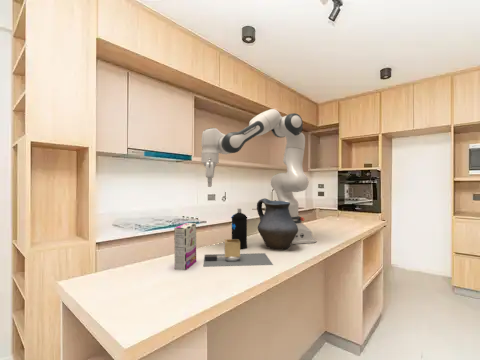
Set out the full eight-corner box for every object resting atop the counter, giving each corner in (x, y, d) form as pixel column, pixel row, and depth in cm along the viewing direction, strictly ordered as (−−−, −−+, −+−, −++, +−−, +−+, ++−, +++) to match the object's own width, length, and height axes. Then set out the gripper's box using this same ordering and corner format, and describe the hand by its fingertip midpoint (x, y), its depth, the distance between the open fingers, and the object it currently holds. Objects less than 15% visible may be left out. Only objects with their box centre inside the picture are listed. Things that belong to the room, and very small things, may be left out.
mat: (264, 254, 122) (265, 253, 122) (273, 265, 105) (273, 264, 105) (204, 255, 119) (204, 254, 119) (203, 267, 102) (203, 266, 102)
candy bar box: (185, 261, 110) (185, 222, 110) (196, 262, 109) (196, 223, 109) (173, 270, 99) (173, 227, 99) (185, 271, 98) (186, 227, 98)
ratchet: (239, 256, 116) (239, 245, 116) (241, 261, 109) (241, 249, 109) (205, 257, 114) (205, 245, 114) (204, 262, 107) (204, 250, 107)
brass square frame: (238, 252, 115) (238, 239, 115) (240, 256, 109) (240, 242, 109) (224, 252, 115) (224, 239, 115) (225, 257, 108) (225, 242, 108)
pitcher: (289, 255, 120) (289, 201, 120) (247, 249, 131) (248, 199, 131) (302, 245, 138) (302, 198, 138) (264, 241, 148) (265, 197, 149)
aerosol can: (247, 246, 136) (248, 208, 136) (246, 250, 128) (246, 209, 128) (232, 246, 137) (232, 207, 137) (230, 250, 128) (230, 209, 129)
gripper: (216, 158, 124) (216, 187, 124) (216, 161, 144) (215, 186, 144) (202, 157, 123) (202, 187, 123) (204, 161, 144) (204, 186, 143)
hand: (209, 186), depth 134 cm, fingers open, 8 cm apart
